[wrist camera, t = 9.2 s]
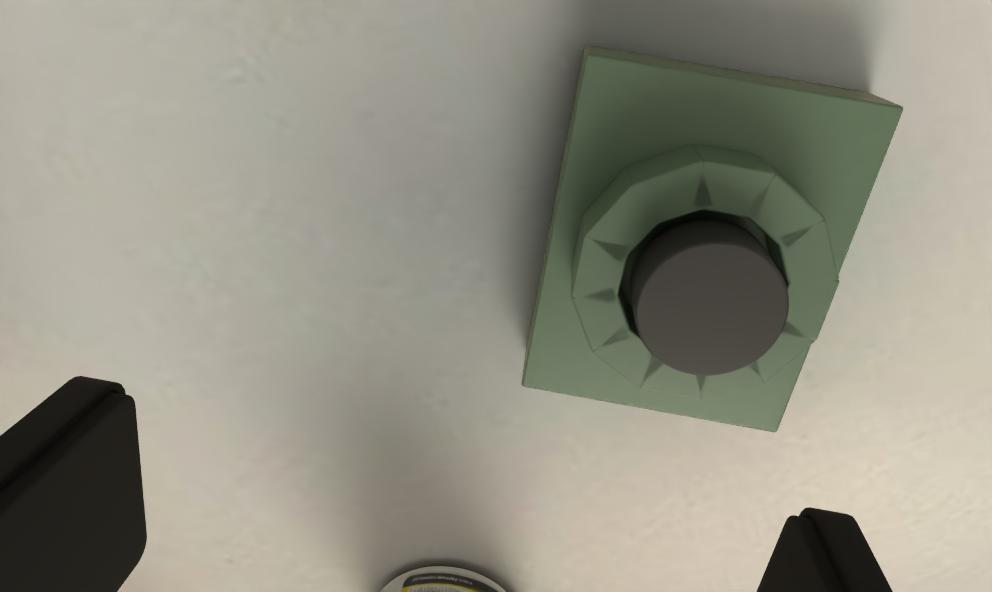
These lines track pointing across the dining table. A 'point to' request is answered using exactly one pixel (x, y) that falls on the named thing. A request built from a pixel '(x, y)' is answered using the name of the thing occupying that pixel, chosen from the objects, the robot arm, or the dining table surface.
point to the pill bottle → (441, 581)
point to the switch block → (693, 195)
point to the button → (707, 297)
